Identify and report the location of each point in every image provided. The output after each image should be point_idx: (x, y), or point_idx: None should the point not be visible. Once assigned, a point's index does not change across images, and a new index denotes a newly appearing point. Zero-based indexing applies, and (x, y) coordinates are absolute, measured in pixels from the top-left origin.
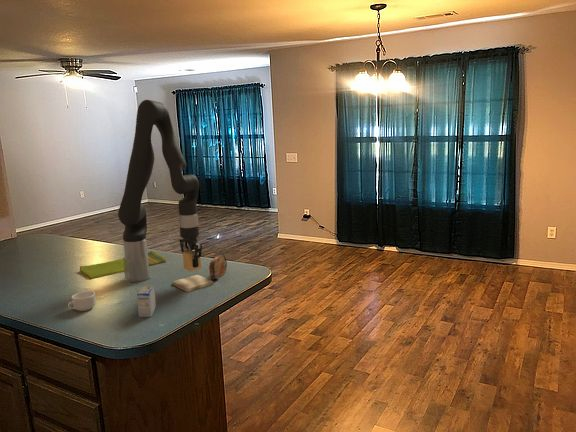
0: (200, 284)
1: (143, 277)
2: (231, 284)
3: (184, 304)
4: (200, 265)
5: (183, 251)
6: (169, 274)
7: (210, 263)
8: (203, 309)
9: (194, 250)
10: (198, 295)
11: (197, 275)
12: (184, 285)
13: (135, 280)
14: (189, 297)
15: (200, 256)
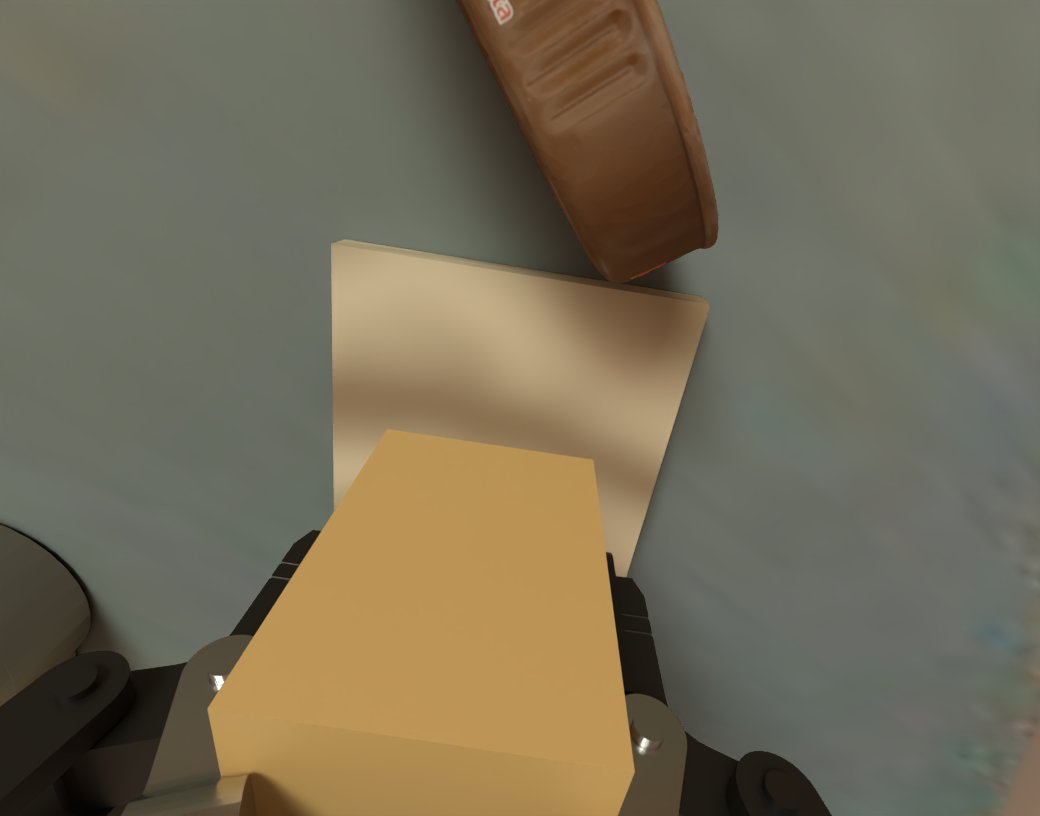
0: (650, 454)
1: (64, 622)
2: (937, 149)
3: (797, 708)
4: (596, 497)
5: (126, 804)
6: (32, 373)
7: (593, 228)
8: (1000, 701)
9: (348, 753)
10: (776, 568)
11: (362, 270)
12: None
13: (72, 651)
14: (734, 625)
15: (805, 800)
